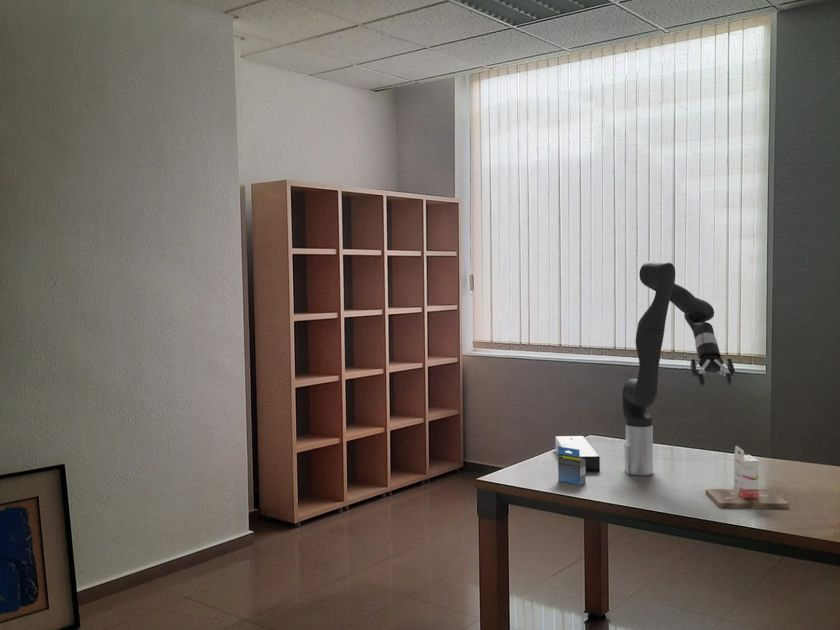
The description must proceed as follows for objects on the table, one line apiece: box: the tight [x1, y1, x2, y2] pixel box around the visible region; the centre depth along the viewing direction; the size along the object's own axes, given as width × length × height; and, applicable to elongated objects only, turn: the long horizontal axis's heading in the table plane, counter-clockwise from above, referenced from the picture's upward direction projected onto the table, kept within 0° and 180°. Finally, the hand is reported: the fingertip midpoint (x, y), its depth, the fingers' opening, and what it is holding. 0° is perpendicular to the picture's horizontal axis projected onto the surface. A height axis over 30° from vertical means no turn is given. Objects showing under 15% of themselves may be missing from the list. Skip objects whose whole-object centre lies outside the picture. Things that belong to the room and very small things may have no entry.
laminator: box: [554, 435, 601, 473], centre depth 292 cm, size 34×12×6 cm, turn 178°
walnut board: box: [705, 488, 789, 509], centre depth 238 cm, size 20×15×2 cm
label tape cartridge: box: [557, 446, 587, 486], centre depth 262 cm, size 9×4×12 cm, turn 47°
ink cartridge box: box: [733, 445, 760, 498], centre depth 238 cm, size 9×5×15 cm, turn 176°
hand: (716, 384), depth 267 cm, fingers open, 8 cm apart
